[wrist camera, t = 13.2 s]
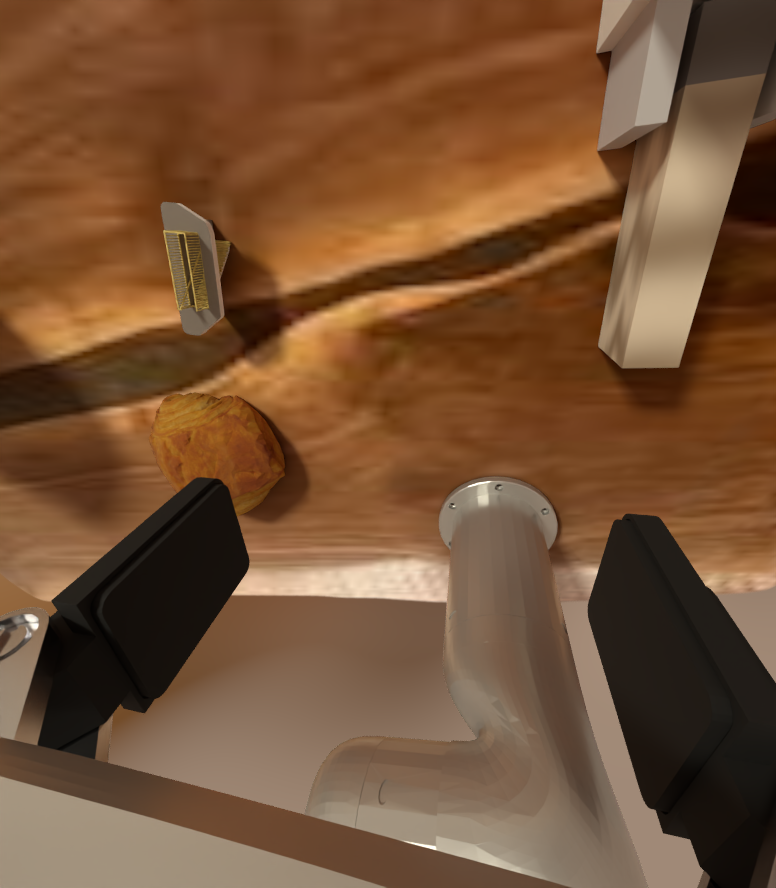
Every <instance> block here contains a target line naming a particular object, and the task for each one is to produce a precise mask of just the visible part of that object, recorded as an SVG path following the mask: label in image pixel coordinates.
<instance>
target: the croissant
mask: <svg viewBox="0 0 776 888" xmlns="http://www.w3.org/2000/svg"><path fill="white" fill-rule="evenodd" d="M156 413H157V414H156V417H155V421H154V423H153V425H152V432H151V435H150V436H149V442H150V445H151V448H152V449H153V453H154V455H155V458H156V461H157V464H158V466H159V468H160V470H161V471H162V473H163V474H164V476H165V477H166V479H167V480H168V481H169V483H170V484H171V486H172V487H173V489H174V490H175V491H176V492H177V493H178V492H179V491H180V490H182V489H183V488H184V487H185V486H186V485H187V484H189V483H190V482H191V481H192V480H193V479H195V478H197V477H205V478H217V479H220V480H221V481H222V482H223V483H224V485H226V486H227V487H228V489H229V491H230V495H231V498H232V502H233V505H234V509H235V512H236V515H237V516H239V515H242V514H244V513H246V512H248V511H250V510H252V509H253V508H255V507H256V506H258V505H259V504H260V503H261V502H263V500H264V499H265V498H266V496H267V494H268V493H269V491H270V489H271V488H272V487H273V486H274V485H275V484H276V483H277V481H278V480H279V479H280V478H282V477H284V476H285V472H284V468H285V460H284V455H283V453H282V450H281V447H280V444H279V443H278V441H277V440H276V437H275V436H274V434H273V432H272V430H271V429H270V427H269V425H268V424H267V422H266V421H265V419H264V418H263V417H262V416H261V415H260V414H259V413H258V412H257V411H256V410H255V409H254V408H252V407H251V406H250V405H249V404H247V403H246V402H245V401H244V400H243V399H241V398H239V397H238V396H235V397H233V398H232V397H231V396H227V397H226V396H224V397H222V398H220V400H218V399H216V398H215V397H213V396H211V395H204V394H200V393H193V394H192V393H189V394H186V395H184V396H183V395H181V394H174V395H171V396H168V397H166V398H165V399H164V400H163V402H162V403H161V406H160V408H159V409H158V410H157V411H156Z"/></svg>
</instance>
